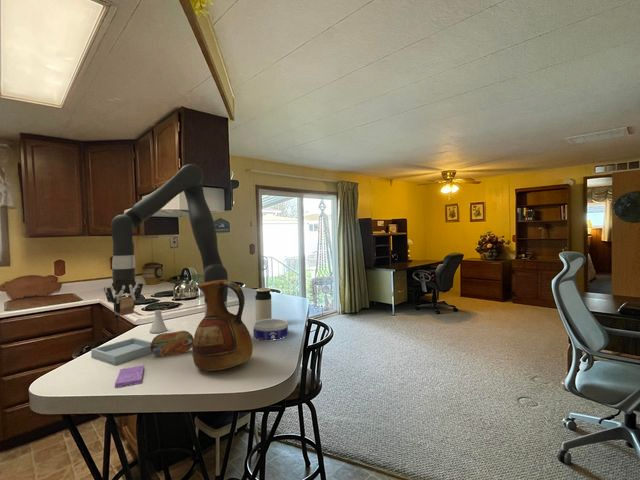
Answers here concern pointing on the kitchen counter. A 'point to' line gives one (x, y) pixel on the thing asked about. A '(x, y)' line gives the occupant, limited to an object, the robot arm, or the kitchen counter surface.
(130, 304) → the walnut block
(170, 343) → the tin
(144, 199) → the robot arm
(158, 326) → the flask
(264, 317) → the travel mug
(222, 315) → the ceramic pitcher
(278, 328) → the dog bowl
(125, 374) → the sponges
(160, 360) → the kitchen counter surface
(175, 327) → the kitchen counter surface
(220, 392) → the kitchen counter surface
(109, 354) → the tray
